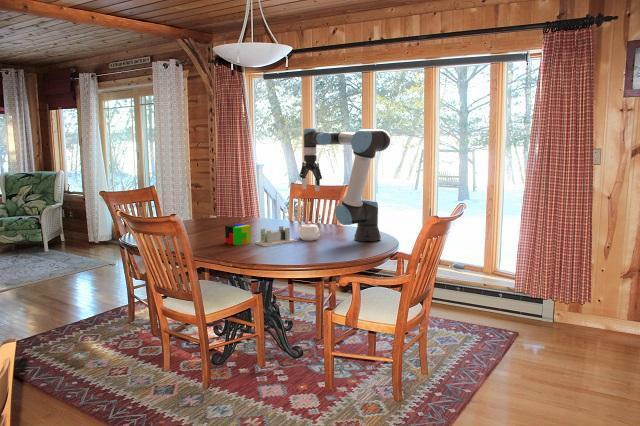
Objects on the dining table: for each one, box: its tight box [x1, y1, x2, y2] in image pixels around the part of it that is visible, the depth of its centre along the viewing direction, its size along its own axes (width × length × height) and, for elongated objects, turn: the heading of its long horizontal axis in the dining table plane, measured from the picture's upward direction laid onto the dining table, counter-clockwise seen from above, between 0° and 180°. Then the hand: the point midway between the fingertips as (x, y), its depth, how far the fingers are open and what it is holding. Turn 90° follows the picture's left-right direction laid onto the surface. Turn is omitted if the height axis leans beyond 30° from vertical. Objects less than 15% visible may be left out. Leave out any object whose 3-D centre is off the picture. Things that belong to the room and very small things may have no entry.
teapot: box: [297, 221, 323, 241], centre depth 302 cm, size 20×12×10 cm, turn 45°
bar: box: [260, 229, 285, 243], centre depth 293 cm, size 4×16×5 cm, turn 126°
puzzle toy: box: [224, 223, 252, 247], centre depth 293 cm, size 10×10×10 cm
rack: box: [254, 225, 296, 248], centre depth 293 cm, size 10×20×8 cm, turn 126°
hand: (310, 190), depth 315 cm, fingers open, 13 cm apart
